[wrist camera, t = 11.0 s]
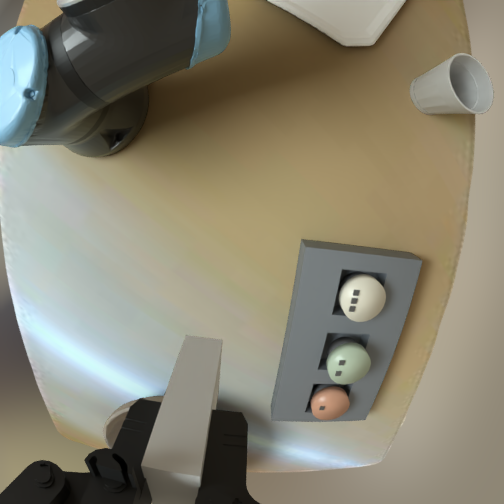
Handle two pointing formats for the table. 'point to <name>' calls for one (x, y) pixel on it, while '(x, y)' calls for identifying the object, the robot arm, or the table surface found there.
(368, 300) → the button three
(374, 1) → the plate
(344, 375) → the button two
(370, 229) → the table surface
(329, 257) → the console
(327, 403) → the button one
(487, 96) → the cup
